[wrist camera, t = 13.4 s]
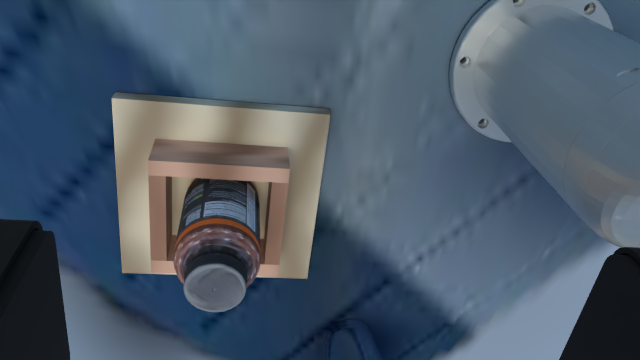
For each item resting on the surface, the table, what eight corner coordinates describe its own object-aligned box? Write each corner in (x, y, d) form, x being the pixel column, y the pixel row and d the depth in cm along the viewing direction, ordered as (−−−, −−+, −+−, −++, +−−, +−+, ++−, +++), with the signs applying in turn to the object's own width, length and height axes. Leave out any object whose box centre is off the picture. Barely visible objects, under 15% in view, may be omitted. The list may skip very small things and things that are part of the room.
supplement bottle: (241, 237, 48) (237, 336, 38) (174, 213, 46) (152, 309, 36) (272, 182, 45) (276, 272, 36) (202, 154, 43) (187, 240, 34)
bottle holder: (328, 108, 44) (336, 134, 40) (305, 270, 52) (310, 305, 48) (115, 92, 42) (100, 117, 38) (125, 264, 49) (113, 300, 45)
